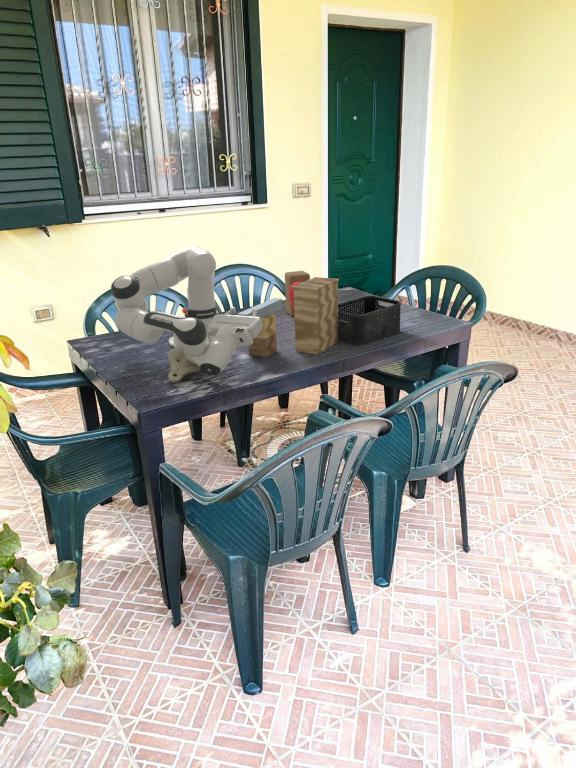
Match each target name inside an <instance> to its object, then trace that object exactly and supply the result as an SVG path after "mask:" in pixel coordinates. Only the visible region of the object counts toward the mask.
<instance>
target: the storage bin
mask: <svg viewBox="0 0 576 768" xmlns="http://www.w3.org/2000/svg"><path fill="white" fill-rule="evenodd" d="M379 302H383V303H387V304H393V305H389V306H385V305H380V303H379ZM401 304H402V302H401V300H396V299H391V298H386V297H382V296H377V295H365V296H361V297H358V298H354V299H352V300H347V301H344V302H341V303H338V342H340V341H341V343H343V344H347V343H348V345H350V344H351V346H355V345H361V346H364V344H365V345H367V343H368V344H370V342H371V343H373V342H377V341H379V340H382V339H384V337H385V338H387V336H388V337H391V336H392V335H396V334H398V333H400V332H401V306H402V305H401ZM395 333H396V334H395ZM381 338H382V339H381Z"/></svg>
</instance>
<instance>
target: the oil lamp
mask: <svg viewBox="0 0 576 768" xmlns="http://www.w3.org/2000/svg"><path fill="white" fill-rule="evenodd" d="M167 361H168V363H169V364H170V365H169V366H170V368H171V369H170V371H169V372H168V376H167V377H168V380H169V381H170V382H172V383H178V382H180V381H181V380H182V378H183V377H185V376H189V375H193V374H194V373H198V372H200V371H201V369H200V368H199V366H198V365H196V364H193V363H191V362H189V361H188V359H187V358H186V355H185V353H184V351H183V348H182V346H181V347H173V348H172V349H170V350H169V351H168V353H167Z"/></svg>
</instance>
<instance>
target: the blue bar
mask: <svg viewBox="0 0 576 768" xmlns="http://www.w3.org/2000/svg"><path fill="white" fill-rule="evenodd" d="M253 309H257V311H258V313H257V317H260V318H261V319H262V318H264V317H266V316H268V315H270V314H274V313H277V312H278V311H280V310H282V309H283V298H277V297H272V298H271V299H267V300H266V301H264V302H261V303H259V304H257V305H254V306H252V307H250V308H248V309H244V310H243V311H241V312H238V313H237V316H252V315H253V314H252V312H251V311H252V310H253Z"/></svg>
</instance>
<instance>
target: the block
mask: <svg viewBox="0 0 576 768" xmlns="http://www.w3.org/2000/svg"><path fill="white" fill-rule="evenodd" d="M310 279H311V275H310V273H308V272H306V271H304V270H296V271H287V272H285V273H284V288H285V292H284V293H285V309H286V310H285V311H286V313H287V314H288V315H289V316H290V317H293V318H295V314H294V309H293V307H292V305H291V302H290V299H289V290H290V287H291V285H292V284H293V283H295V282H305V281H307V280H310Z"/></svg>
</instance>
